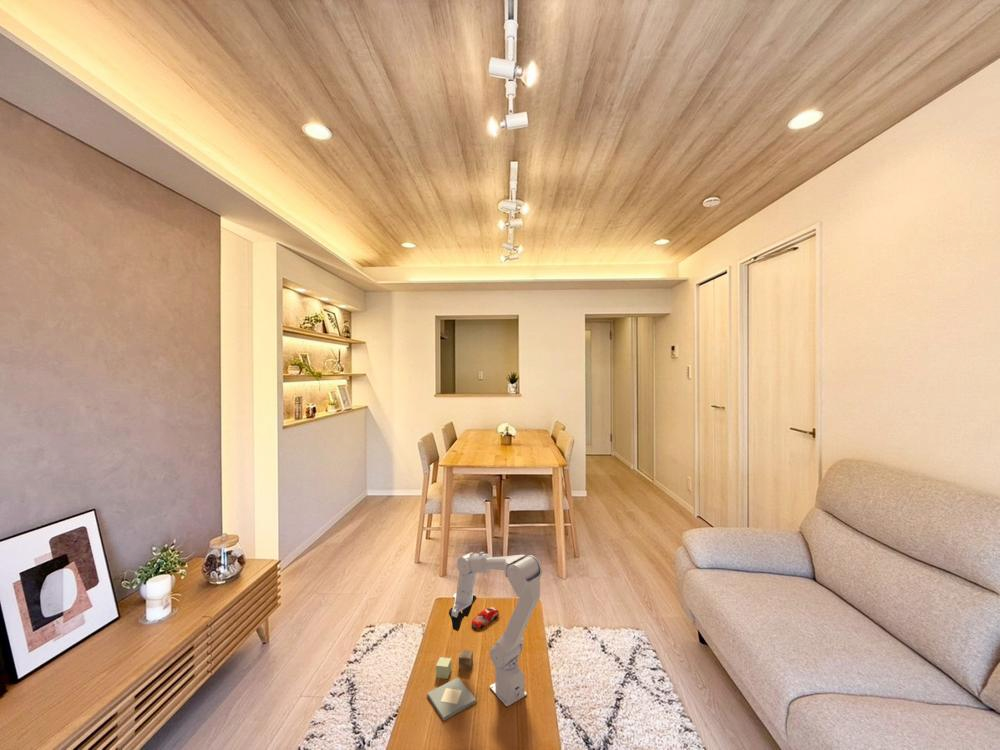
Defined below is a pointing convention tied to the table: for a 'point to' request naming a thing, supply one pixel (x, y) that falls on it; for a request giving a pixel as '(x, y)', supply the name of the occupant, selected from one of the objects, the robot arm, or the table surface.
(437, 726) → the table surface
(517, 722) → the table surface
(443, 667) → the sage cube
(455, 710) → the baseplate
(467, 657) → the walnut cube
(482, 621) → the race car
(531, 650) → the table surface
